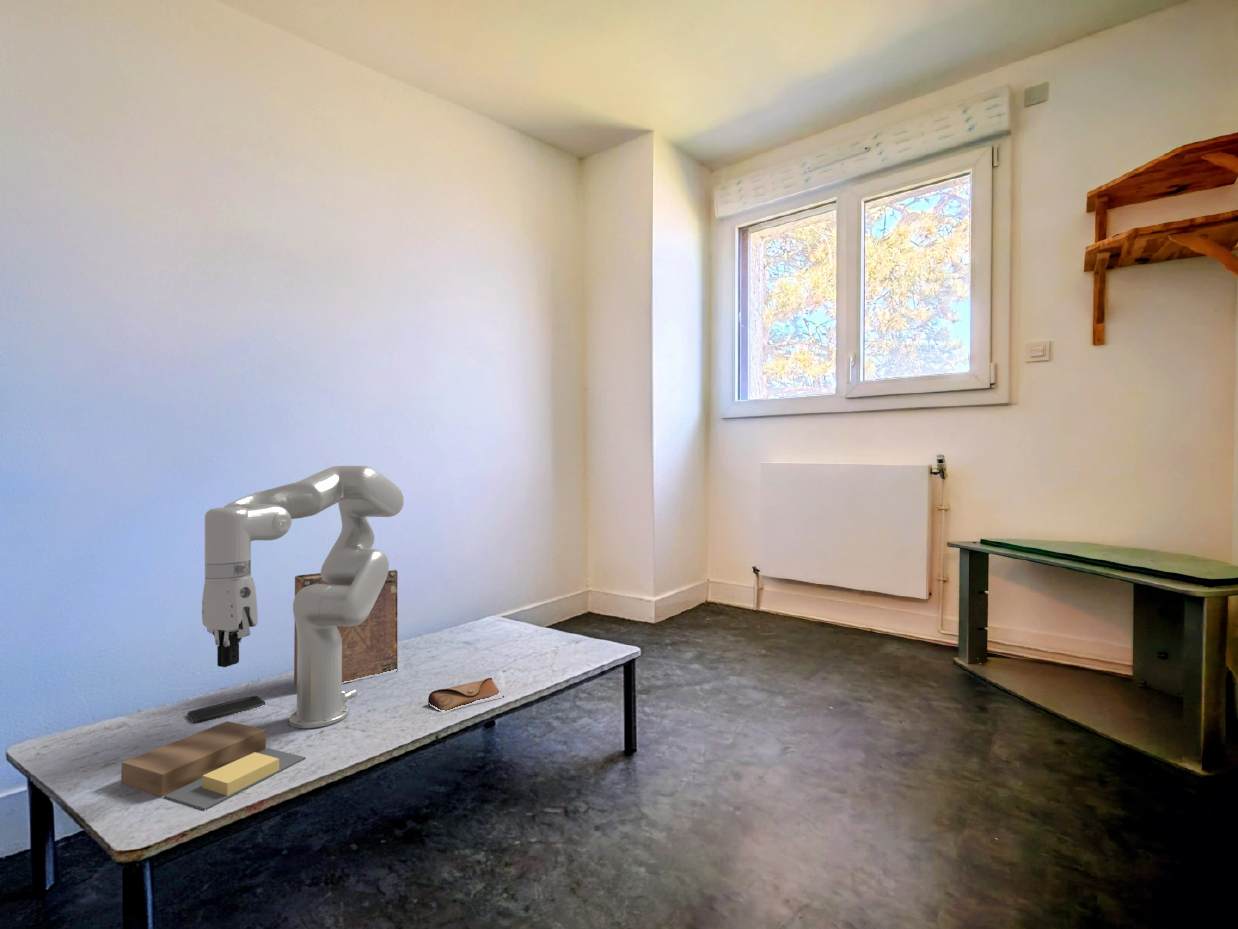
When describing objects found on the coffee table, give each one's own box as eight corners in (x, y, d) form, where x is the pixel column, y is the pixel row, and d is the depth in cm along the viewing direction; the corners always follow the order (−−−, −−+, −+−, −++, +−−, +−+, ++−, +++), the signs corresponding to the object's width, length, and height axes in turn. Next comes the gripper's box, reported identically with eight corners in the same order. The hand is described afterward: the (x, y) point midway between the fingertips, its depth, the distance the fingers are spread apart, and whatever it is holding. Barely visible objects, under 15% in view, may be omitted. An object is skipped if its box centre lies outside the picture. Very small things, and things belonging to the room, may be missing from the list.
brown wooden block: (227, 739, 129) (227, 721, 129) (265, 749, 124) (266, 730, 124) (121, 784, 110) (121, 762, 110) (162, 797, 106) (162, 774, 106)
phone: (186, 712, 142) (256, 694, 153) (186, 717, 142) (256, 699, 153) (194, 721, 137) (266, 702, 148) (194, 726, 137) (266, 707, 148)
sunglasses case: (441, 714, 142) (436, 687, 145) (431, 721, 146) (426, 694, 149) (507, 696, 154) (501, 671, 156) (496, 703, 158) (490, 679, 161)
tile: (279, 758, 115) (279, 770, 115) (254, 752, 117) (254, 763, 117) (227, 783, 105) (227, 795, 105) (202, 775, 108) (202, 787, 108)
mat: (267, 749, 124) (267, 748, 124) (305, 758, 120) (305, 757, 120) (164, 797, 105) (164, 795, 105) (205, 810, 101) (205, 808, 101)
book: (385, 664, 180) (386, 566, 181) (397, 672, 173) (398, 569, 174) (293, 684, 163) (294, 575, 164) (302, 693, 156) (303, 579, 157)
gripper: (273, 570, 116) (273, 663, 116) (221, 565, 121) (221, 654, 121) (235, 576, 109) (235, 676, 109) (182, 571, 114) (183, 666, 114)
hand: (228, 664), depth 115 cm, fingers closed
